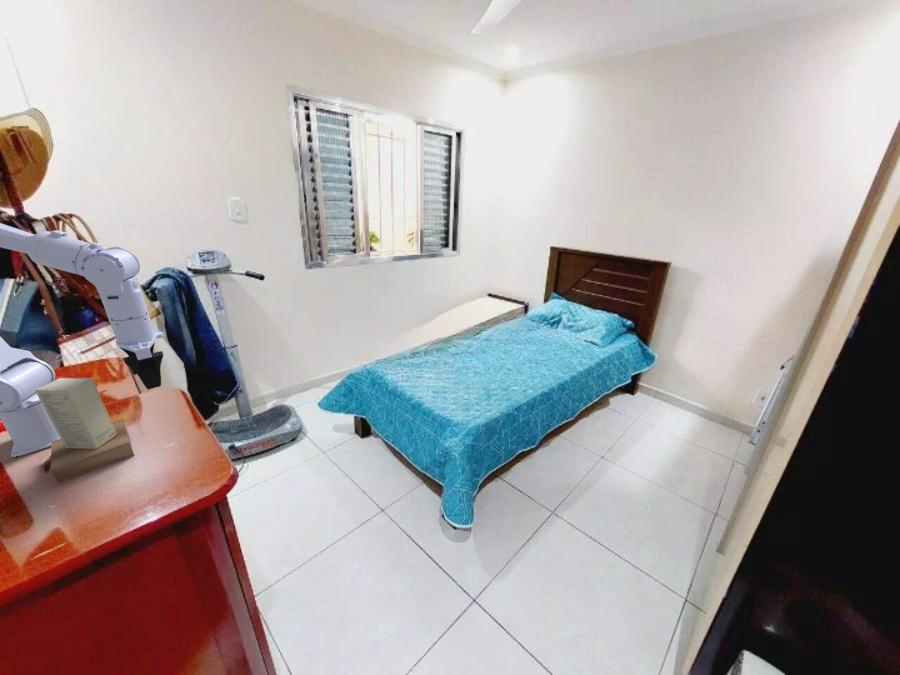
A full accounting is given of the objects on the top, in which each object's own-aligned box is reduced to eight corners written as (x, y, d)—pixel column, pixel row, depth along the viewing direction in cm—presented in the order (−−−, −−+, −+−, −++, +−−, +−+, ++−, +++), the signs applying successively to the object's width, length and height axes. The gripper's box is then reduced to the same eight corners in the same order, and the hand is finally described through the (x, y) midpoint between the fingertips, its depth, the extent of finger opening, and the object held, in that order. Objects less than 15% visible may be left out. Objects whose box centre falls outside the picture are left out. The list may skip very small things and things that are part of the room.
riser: (58, 454, 67) (51, 441, 66) (128, 431, 73) (123, 419, 72) (57, 484, 60) (50, 469, 59) (134, 455, 67) (129, 442, 66)
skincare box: (118, 434, 68) (95, 377, 63) (96, 450, 64) (69, 390, 59) (86, 433, 68) (61, 376, 63) (62, 449, 64) (32, 389, 59)
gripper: (162, 320, 65) (182, 386, 70) (150, 303, 74) (168, 362, 79) (110, 329, 60) (136, 399, 65) (104, 310, 70) (127, 372, 75)
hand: (151, 380), depth 72 cm, fingers open, 7 cm apart
